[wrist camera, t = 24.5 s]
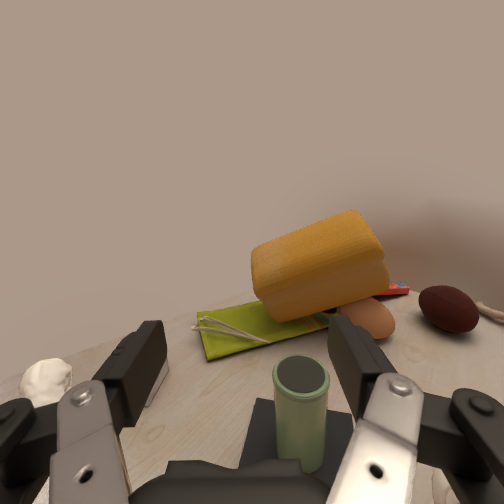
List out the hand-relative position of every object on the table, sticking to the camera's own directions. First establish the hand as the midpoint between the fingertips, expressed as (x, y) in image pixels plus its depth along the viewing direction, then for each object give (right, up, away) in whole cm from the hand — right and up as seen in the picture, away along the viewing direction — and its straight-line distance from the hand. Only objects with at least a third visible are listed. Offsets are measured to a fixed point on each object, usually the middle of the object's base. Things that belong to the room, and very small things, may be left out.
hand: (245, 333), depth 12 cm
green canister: (+6, -21, +20) cm, 30 cm away
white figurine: (-29, -22, +25) cm, 45 cm away
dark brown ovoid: (+42, -12, +43) cm, 61 cm away
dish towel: (+6, -13, +48) cm, 50 cm away
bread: (+16, -4, +44) cm, 48 cm away
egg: (+19, -7, +42) cm, 46 cm away
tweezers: (-4, -14, +40) cm, 43 cm away
